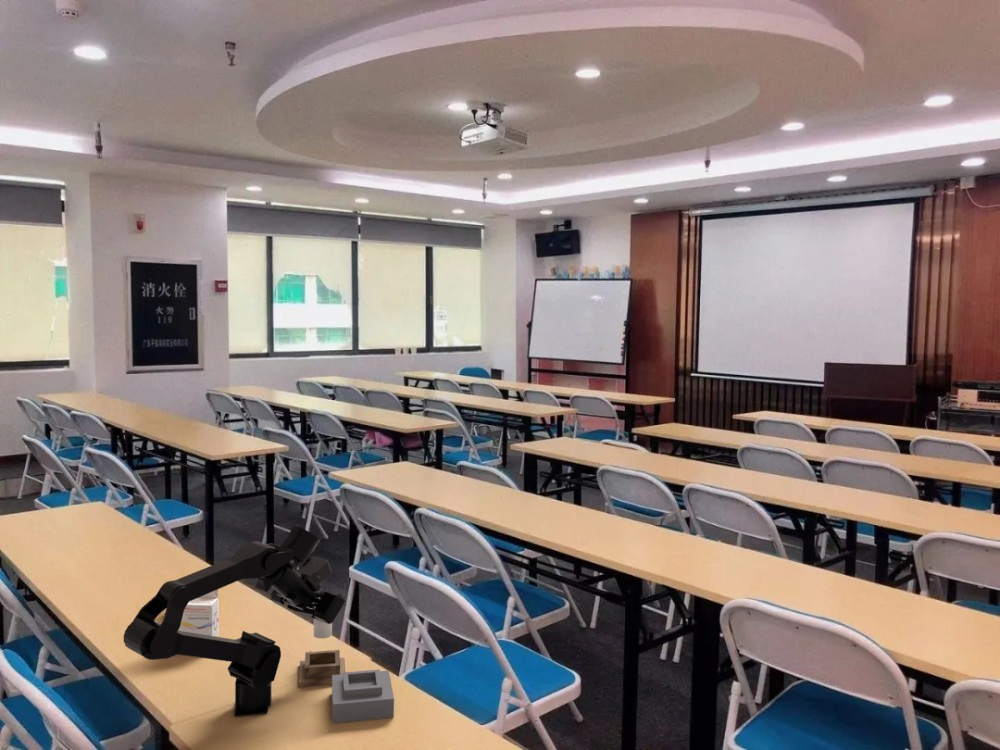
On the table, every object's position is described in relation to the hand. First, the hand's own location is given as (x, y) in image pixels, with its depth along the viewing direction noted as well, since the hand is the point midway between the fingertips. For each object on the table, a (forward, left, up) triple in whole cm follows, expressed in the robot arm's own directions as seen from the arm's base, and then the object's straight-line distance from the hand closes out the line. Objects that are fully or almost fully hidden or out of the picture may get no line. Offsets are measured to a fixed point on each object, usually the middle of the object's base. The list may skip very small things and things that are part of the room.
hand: (327, 616), depth 167 cm
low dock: (-1, -1, -13) cm, 13 cm away
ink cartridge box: (-30, +17, -13) cm, 37 cm away
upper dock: (+7, -16, -13) cm, 22 cm away
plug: (-1, -1, -4) cm, 4 cm away
